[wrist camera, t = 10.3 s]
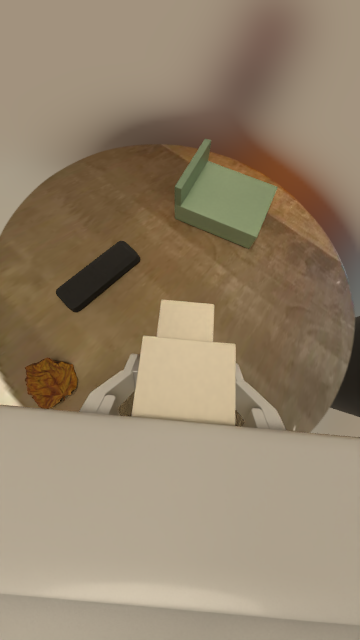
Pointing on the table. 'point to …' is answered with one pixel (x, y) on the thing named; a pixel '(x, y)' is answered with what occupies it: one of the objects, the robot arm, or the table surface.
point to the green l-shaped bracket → (222, 199)
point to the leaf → (50, 381)
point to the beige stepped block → (186, 369)
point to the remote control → (97, 276)
